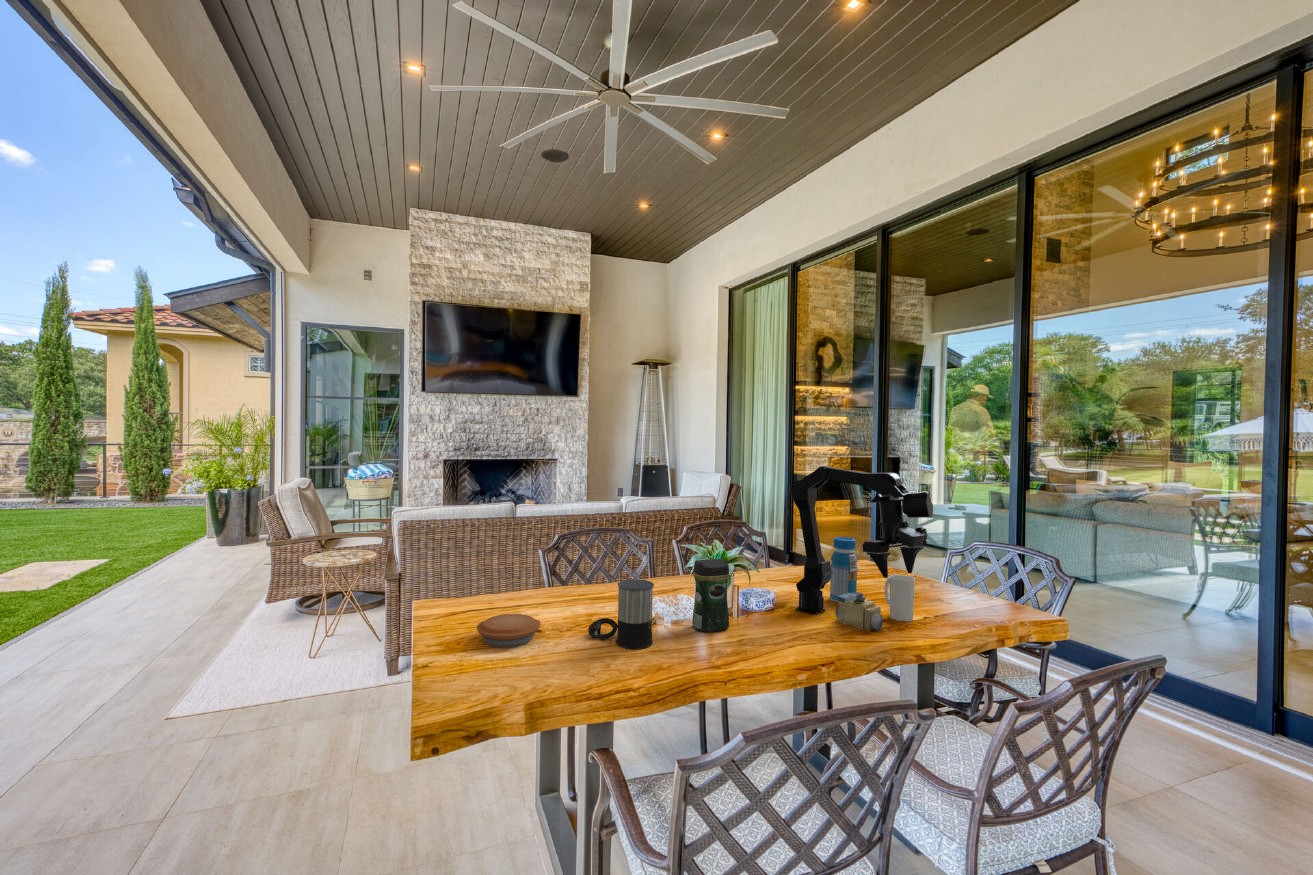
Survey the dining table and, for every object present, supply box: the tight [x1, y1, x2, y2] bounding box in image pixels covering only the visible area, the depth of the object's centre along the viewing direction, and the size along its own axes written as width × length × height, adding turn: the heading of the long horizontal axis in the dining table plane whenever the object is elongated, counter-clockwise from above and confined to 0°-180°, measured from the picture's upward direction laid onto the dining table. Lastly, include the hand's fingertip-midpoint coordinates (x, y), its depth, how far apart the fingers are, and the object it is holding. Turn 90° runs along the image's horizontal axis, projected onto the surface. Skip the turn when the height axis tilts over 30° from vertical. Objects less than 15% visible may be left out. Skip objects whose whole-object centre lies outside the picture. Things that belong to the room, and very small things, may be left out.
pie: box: [476, 613, 542, 648], centre depth 143 cm, size 15×16×5 cm
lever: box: [837, 591, 867, 603], centre depth 158 cm, size 3×11×2 cm, turn 131°
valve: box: [835, 599, 884, 632], centre depth 161 cm, size 12×6×6 cm, turn 40°
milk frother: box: [587, 578, 655, 650], centre depth 144 cm, size 14×16×15 cm
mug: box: [884, 574, 916, 623], centre depth 169 cm, size 10×7×12 cm, turn 21°
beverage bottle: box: [829, 536, 859, 604], centre depth 185 cm, size 8×8×20 cm
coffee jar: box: [691, 558, 730, 633], centre depth 155 cm, size 10×8×19 cm
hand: (897, 575), depth 157 cm, fingers open, 9 cm apart
